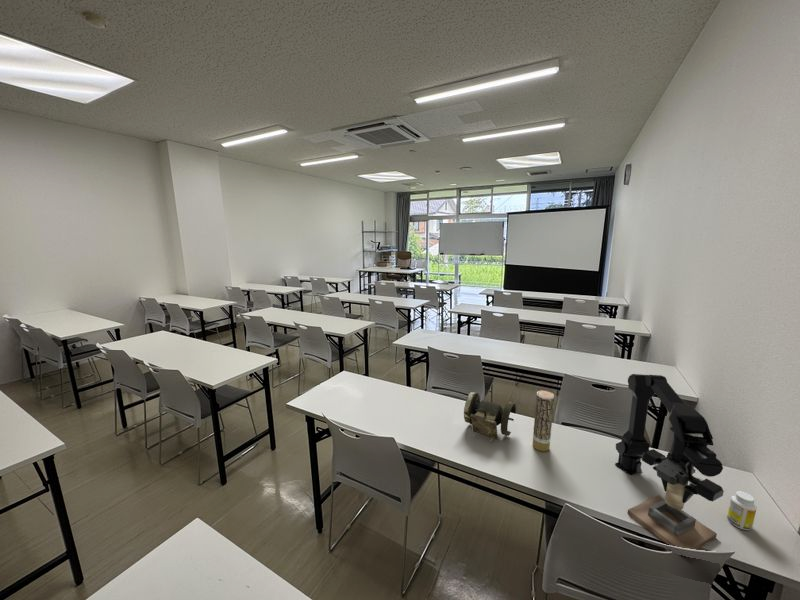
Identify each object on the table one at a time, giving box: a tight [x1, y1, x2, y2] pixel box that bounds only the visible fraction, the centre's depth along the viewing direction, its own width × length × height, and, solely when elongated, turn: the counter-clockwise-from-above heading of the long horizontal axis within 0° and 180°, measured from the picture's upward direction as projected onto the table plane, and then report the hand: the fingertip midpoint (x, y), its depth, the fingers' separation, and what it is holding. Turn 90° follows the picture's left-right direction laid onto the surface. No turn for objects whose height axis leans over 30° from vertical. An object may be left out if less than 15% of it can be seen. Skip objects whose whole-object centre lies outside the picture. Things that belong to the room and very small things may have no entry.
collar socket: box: [627, 494, 718, 550], centre depth 101 cm, size 16×16×4 cm
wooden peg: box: [664, 481, 689, 510], centre depth 99 cm, size 4×4×9 cm
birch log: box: [532, 390, 555, 452], centre depth 137 cm, size 7×7×25 cm
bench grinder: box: [463, 391, 517, 443], centre depth 149 cm, size 20×22×20 cm
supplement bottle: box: [726, 490, 757, 531], centre depth 101 cm, size 6×6×10 cm
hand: (675, 496), depth 100 cm, fingers closed on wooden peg, 4 cm apart
